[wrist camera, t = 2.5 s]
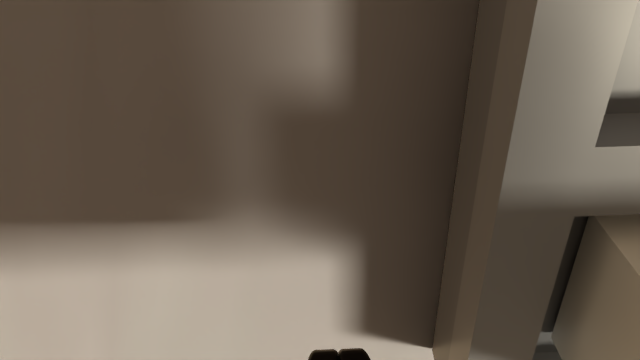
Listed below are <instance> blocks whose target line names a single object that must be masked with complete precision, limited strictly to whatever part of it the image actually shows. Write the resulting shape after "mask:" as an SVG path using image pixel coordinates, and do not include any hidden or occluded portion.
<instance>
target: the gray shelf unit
mask: <svg viewBox="0 0 640 360" xmlns="http://www.w3.org/2000/svg"><path fill="white" fill-rule="evenodd" d="M630 214H640V0H480V1H479V9H478V16H477V24H476V31H475V38H474V46H473V53H472V60H471V68H470V75H469V83H468V90H467V97H466V105H465V112H464V120H463V127H462V134H461V142H460V149H459V157H458V164H457V171H456V179H455V186H454V193H453V201H452V208H451V216H450V223H449V230H448V238H447V245H446V253H445V260H444V267H443V275H442V282H441V289H440V297H439V304H438V312H437V319H436V326H435V334H434V341H433V349H432V351H433V355H434V359H435V360H562V359H561V357H560V355H559V353H558V350H557V348H556V346H555V344H554V342H553V340H552V338H551V335H552V332H553V329H554V326H555V323H556V319H557V316H558V313H559V310H560V307H561V304H562V300H563V297H564V294H565V291H566V288H567V284H568V281H569V278H570V275H571V272H572V268H573V265H574V262H575V259H576V256H577V252H578V249H579V246H580V243H581V240H582V237H583V233H584V230H585V227H586V224H587V221H588V217H589V216H602V215H630Z"/></svg>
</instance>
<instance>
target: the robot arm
mask: <svg viewBox="0 0 640 360" xmlns="http://www.w3.org/2000/svg"><path fill="white" fill-rule="evenodd" d="M308 360H371V359H370V358H369V356H368V354H367V353H366V352H365V350H363V349H361V348H355V349H341V350H340V351H339V353H338V352H337V351H336V350H334V349H327V350H314V351H313V352H312V353H311V354H310V356H309V359H308Z"/></svg>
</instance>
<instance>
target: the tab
mask: <svg viewBox="0 0 640 360" xmlns="http://www.w3.org/2000/svg"><path fill="white" fill-rule="evenodd" d="M551 338H552V340H553V342H554V344H555V346H556V348H557V350H558V353H559V355H560V357H561V359H562V360H640V214H630V215H602V216H589V217H588V221H587V224H586V227H585V230H584V233H583V237H582V240H581V243H580V246H579V249H578V252H577V256H576V259H575V262H574V265H573V268H572V272H571V275H570V278H569V281H568V284H567V288H566V291H565V294H564V297H563V300H562V304H561V307H560V310H559V313H558V316H557V319H556V323H555V326H554V329H553V332H552V335H551Z"/></svg>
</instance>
